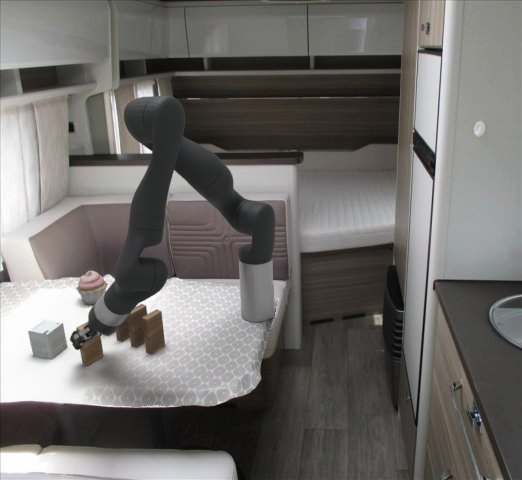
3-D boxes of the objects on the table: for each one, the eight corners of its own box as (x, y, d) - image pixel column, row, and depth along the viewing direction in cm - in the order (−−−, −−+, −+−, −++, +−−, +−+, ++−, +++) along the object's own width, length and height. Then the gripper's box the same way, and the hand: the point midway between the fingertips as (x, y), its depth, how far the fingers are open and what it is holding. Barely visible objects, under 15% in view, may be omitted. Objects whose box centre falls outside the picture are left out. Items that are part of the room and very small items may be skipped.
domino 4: (165, 345, 132) (161, 311, 128) (150, 354, 128) (146, 319, 125) (160, 343, 133) (156, 309, 129) (145, 352, 129) (141, 317, 125)
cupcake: (72, 305, 154) (66, 275, 151) (88, 292, 163) (84, 263, 159) (99, 308, 152) (95, 277, 149) (115, 294, 160) (111, 265, 157)
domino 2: (135, 333, 138) (131, 300, 134) (121, 342, 134) (116, 308, 131) (131, 331, 139) (127, 298, 135) (116, 340, 135) (111, 306, 132)
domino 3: (150, 339, 135) (146, 305, 131) (135, 348, 131) (131, 313, 128) (145, 337, 136) (141, 303, 132) (131, 346, 132) (126, 311, 129)
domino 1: (103, 356, 128) (98, 320, 124) (87, 366, 124) (80, 329, 121) (99, 354, 129) (93, 318, 125) (82, 363, 125) (76, 327, 121)
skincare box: (48, 343, 134) (43, 318, 132) (68, 347, 133) (63, 321, 130) (32, 356, 129) (26, 330, 126) (52, 359, 127) (47, 334, 125)
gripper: (126, 285, 121) (100, 316, 132) (75, 309, 110) (51, 342, 121) (144, 310, 120) (116, 340, 131) (94, 338, 109) (68, 368, 120)
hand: (85, 341), depth 126 cm, fingers closed on domino 1, 5 cm apart
